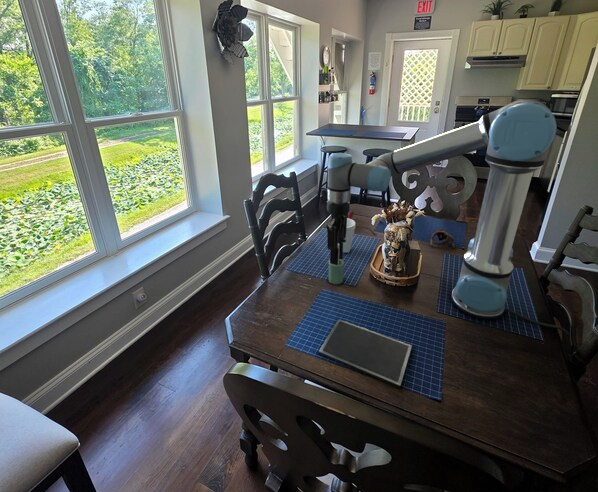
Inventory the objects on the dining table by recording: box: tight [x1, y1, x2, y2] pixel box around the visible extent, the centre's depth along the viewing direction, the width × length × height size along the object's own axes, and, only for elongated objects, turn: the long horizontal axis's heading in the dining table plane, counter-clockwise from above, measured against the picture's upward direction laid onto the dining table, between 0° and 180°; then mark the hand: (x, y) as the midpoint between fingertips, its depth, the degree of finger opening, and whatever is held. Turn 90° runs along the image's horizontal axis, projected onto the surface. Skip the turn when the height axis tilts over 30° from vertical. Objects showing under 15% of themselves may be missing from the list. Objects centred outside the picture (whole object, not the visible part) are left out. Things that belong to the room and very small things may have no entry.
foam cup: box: [343, 217, 356, 254], centre depth 136 cm, size 10×9×13 cm
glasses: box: [347, 211, 383, 236], centre depth 159 cm, size 14×16×5 cm
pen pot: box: [327, 259, 345, 285], centre depth 117 cm, size 5×5×8 cm
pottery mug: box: [430, 228, 456, 249], centre depth 140 cm, size 12×10×8 cm
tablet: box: [318, 318, 413, 389], centre depth 88 cm, size 22×14×1 cm, turn 61°
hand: (336, 260), depth 115 cm, fingers open, 3 cm apart
